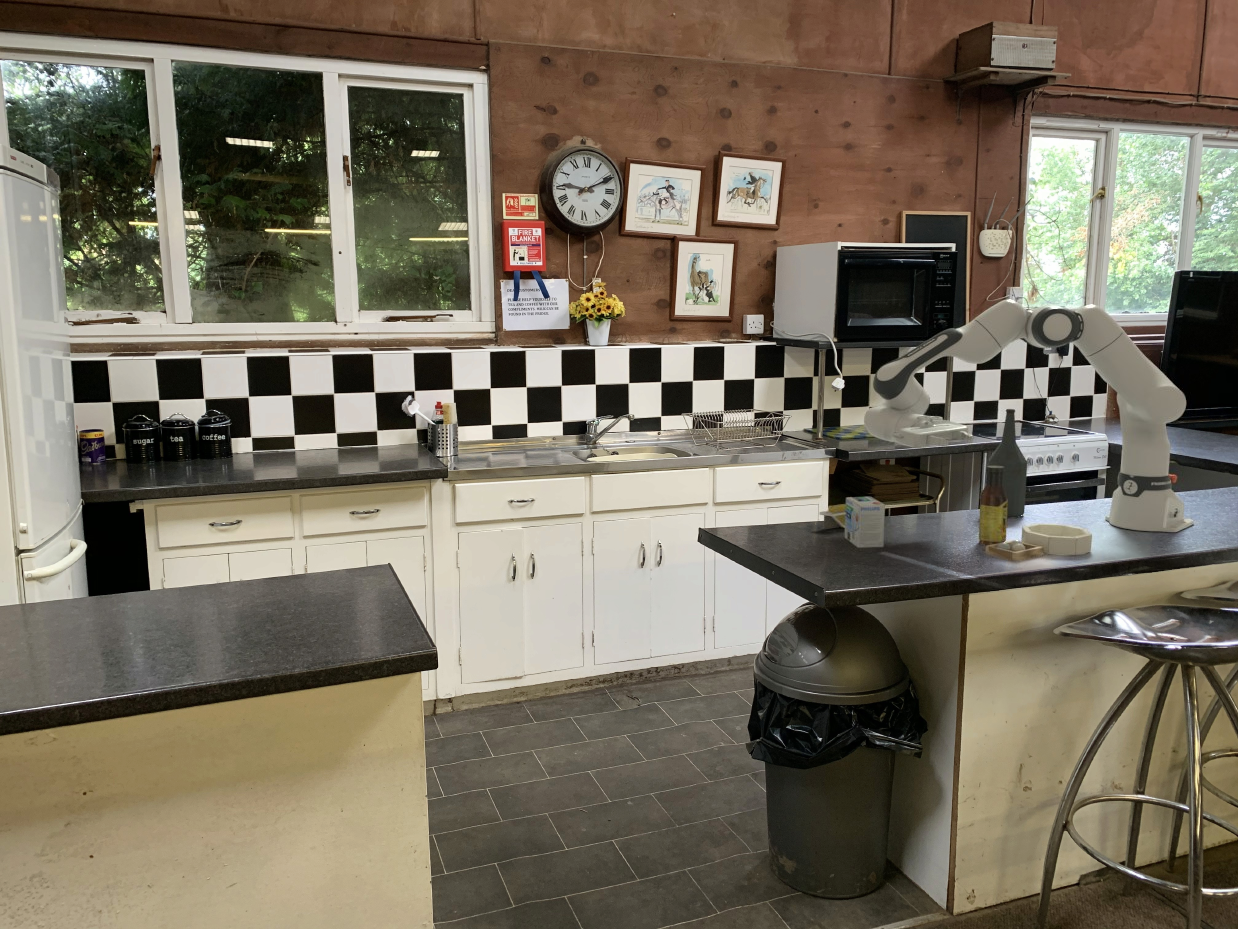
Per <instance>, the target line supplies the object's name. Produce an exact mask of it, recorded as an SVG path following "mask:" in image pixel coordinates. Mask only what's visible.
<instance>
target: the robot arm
mask: <svg viewBox="0 0 1238 929" xmlns="http://www.w3.org/2000/svg"><path fill="white" fill-rule="evenodd" d="M1017 340H1021V341H1023V342H1025V343H1026V344H1028V345H1030V346H1032V347H1036V348H1039V349H1040V348H1041V349H1050V348H1051V349H1053V348H1055V349H1056V348H1060V347H1064V346H1065V345H1068V344H1070V343H1071V344H1072V345H1074V346H1075V347H1076V348H1078V350H1079V351H1080V353H1081V355H1083V356H1084V358H1085V359H1086V360H1087V361H1088V363H1089V364H1090V365H1091V367H1092V368H1093V369H1094V370H1095V372H1096V374H1098V375H1099V376H1100V378H1101V379H1102V380H1103V381H1104V382H1105V383H1107V384H1108V386H1110V387H1111V388H1112V389H1113V390H1114V391H1115V393H1117V394H1116V403H1117V405H1118V408H1119V409H1118V410H1119V419H1120V420H1119V421H1120V422H1119V423H1120V430H1121V442H1122V446H1121V447H1122V449H1121V461H1120V462H1121V464H1120V471H1119V472H1118V476H1117V485H1118V487H1117V488H1116V489H1114V491H1113V493H1112V498H1111V505H1110V509H1109V511H1110V512H1109V514H1108V515H1105V519H1104V520H1106V521H1108V522H1109V524H1110V525H1112V526H1115V527H1117V528H1122V529H1125V530H1126V529H1128V530H1132V531H1133V530H1134V531H1140V532H1141V531H1143V532H1164V533H1177V532H1180V531H1182V530H1184V529H1187V528H1188V527H1191V526H1193V525H1194V523H1195V521H1194V520H1193V519H1191V518H1188V517H1185V503H1184V501H1183V500H1182V499H1181V498H1180V497H1179V496H1178V495H1177V493H1176V492H1174V490H1172V483H1176V482H1177V479H1178V476H1177V475H1176V474H1170V473H1169V470H1170V467H1169V466H1170V458H1171V443H1170V442H1171V441H1170V440H1169V436H1168V432H1167V426H1166V425H1167V424H1168V423H1171V422H1174V421H1176V420H1178V419H1179V418H1180V417H1182V416H1183V414H1184V412H1185V410H1186V407H1187V400H1186V395H1185V393H1184V392H1183V391H1182V390H1180V388H1178V387H1177V386H1176V385H1175V384H1174V383H1173V381H1171V380H1170V379H1169V378H1168V377H1167V375H1165V373H1164V372H1163V371H1161V370H1160V369H1159V367H1157V365H1155V364H1154V363H1153V362H1152V361H1151V360H1150V359H1149V358H1148V357H1146V355H1145V354H1144V353H1143V352H1142V350H1140V349H1139V347H1138V346H1137V345H1136V344H1135V342H1134V341H1133V340H1132V339H1131V338H1130V336H1129V335H1128V334H1127V333H1126V332H1125V330H1124V329H1123V328H1122V326H1121V325H1120V324H1119V323H1118V322H1117V321H1116V319H1115V318H1113V317H1112V316H1111V315H1110V314H1109V313H1108V312H1107V311H1105V310H1104V308H1102V307H1100V306H1099V305H1096V304H1086V305H1082V306H1081V307H1079V308H1077V309H1075V310H1072V309H1069V308H1066V307H1064V306H1060V305H1059V306H1058V305H1042V306H1036V307H1031V308H1027V309H1025V307H1024V306H1023V305H1022V304H1020V303H1019V302H1017V301H1016V300H1013V299H1003V300H1001V301H999V302H997V303H996V304H994V305H993V306H990V307H989V308H988V309H986V310H984V311H983V312H981V313H980V314H979V315H977V316H976V317H975V318H974V319H972V320H971V321H969V323H966V324H965V325H963V326H961V327H957V328H953V327H951V328H947V329H945V330H943V331H940V332H939V333H937V334H935V335H934V336H932V337H931V338H929V339H927V340H925V341H924V342H922V343H920V344H919V345H918V346H916V347H914V348H913V349H911V350H909V351H908V352H906V353H904V354H903V355H901V356H900V357H898V358H896V359H893V360H891V361H889V362H886V363H885V364H882V365H881V366H880V367H879V368H878V369H877V370H876V372H875V375H874V378H873V382H872V386H873V391H875V392H876V393H877V394H878V395H879V396H880V397H881V398H882V399H883V400H885V401H884V402H883V403H881V404H879V405H877V406H873V407H869V408H868V409H867V410H866V412H865V414H864V419H863V425H864V428H865V430H866V431H867V433H868V434H869V435H870V436H873V437H874V438H876V439H880V440H881V441H882V440H883V441H887V442H890V443H897V444H899V445H902V446H906V447H910V448H915V449H921V448H923V447H930V446H941V447H946V446H949V444H951V443H955V442H956V443H957V442H965V443H972V442H973V441H974V435H973V434H970V433H969V428H968V427H967V425H965V424H961V423H958V422H954V421H951V420H946V419H943V417H942V416H937V415H935V416H934V415H932V416H931V415H926V413H927V411H928V410H929V407H930V404H931V400H930V399H931V398H930V396H929V395H930V394H928V392H927V391H926V390H925V388H924V387H923V386H922V385H921V383H919V382H918V380H917V379H916V377H915V374H916V373H918V372H919V371H921V370H923V368H926V367H927V366H928V365H929V366H930V364H932V363H933V362H935V361H937V360H939V359H940V358H943V357H953V358H956V359H958V360H961V361H962V362H965V363H968V364H979V365H980V364H984V363H986V362H988V361H990V360H992V359H993V358H994V357H996V356H997V355H998V354H999V353H1000V352H1001V351H1003V350H1004V349H1005V348H1006V347H1008V346H1009V345H1010V344H1011V343H1013V342H1015V341H1017Z"/></svg>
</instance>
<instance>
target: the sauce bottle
mask: <svg viewBox="0 0 1238 929" xmlns="http://www.w3.org/2000/svg"><path fill="white" fill-rule="evenodd" d="M985 468H986V470H985V473H986V482H985V484H986V485H985V486H984V487H983V489H982V491H981V493H980V504H979V522H978V542H979V543H978V544H980V545H981V546H985V547H986V546H988V545H993V544H997V543H1002V542H1007V541H1006V540H1007V526H1008V525H1007V524H1008V523H1007V522H1008V521H1007V520H1008V519H1007V505H1008V498H1007V495H1006V492H1005V489H1004V486H1003V473H1004V467H1002V466H988V465H987V466H986V467H985Z"/></svg>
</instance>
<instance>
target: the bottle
mask: <svg viewBox="0 0 1238 929" xmlns="http://www.w3.org/2000/svg"><path fill="white" fill-rule="evenodd" d="M1005 412H1006V413H1005V418H1004V425H1003V430H1002V431H1003V432H1002V438H1001V442H1000V443H999V445H998V446H997V447H996V449H995V450H994V451H993V453H992V454H991V455H990V457H989V458H988V462H987V463H988V464H987V466H1002V467H1004V473H1003V486H1004V489H1005V492H1006V495H1007V498H1008V505H1007V518H1008V519H1009V518H1010V519H1012V518H1011V517H1016V518H1019V517H1018V516H1020V517H1022V516H1021V515H1024V514H1025V508H1026V493H1027V491H1026V490H1027V489H1026V488H1027V475H1028V473H1027V472H1028V461H1027V459H1026V457H1025V456H1024V454H1023V453H1022V451H1021V449H1020V447H1019V446H1018V443H1017V438H1016V436H1017V435H1016V419H1015V416H1016V415H1015V413H1016V410H1015V409H1013V408H1007V409H1006V410H1005Z"/></svg>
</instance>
